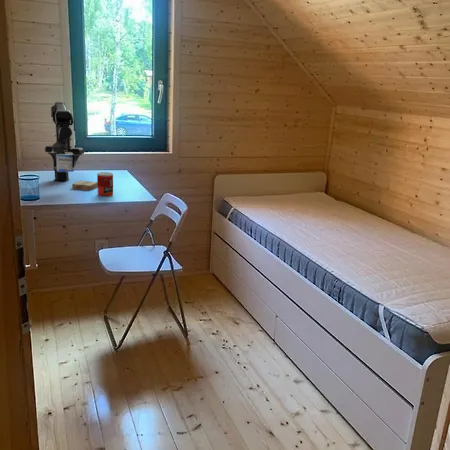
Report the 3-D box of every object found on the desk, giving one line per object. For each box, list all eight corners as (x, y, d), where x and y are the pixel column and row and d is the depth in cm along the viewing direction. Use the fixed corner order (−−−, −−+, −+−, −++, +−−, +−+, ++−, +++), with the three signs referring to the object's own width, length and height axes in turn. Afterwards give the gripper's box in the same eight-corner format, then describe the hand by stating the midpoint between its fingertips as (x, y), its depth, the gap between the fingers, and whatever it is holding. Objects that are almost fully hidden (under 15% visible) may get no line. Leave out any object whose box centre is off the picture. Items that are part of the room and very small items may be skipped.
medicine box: (58, 172, 242) (57, 155, 239) (56, 170, 245) (55, 153, 243) (74, 171, 245) (73, 154, 243) (72, 170, 249) (71, 153, 247)
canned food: (105, 197, 239) (105, 175, 236) (94, 194, 243) (93, 173, 240) (116, 194, 245) (116, 173, 242) (105, 192, 249) (105, 171, 246)
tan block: (72, 189, 253) (72, 184, 252) (80, 185, 262) (80, 180, 262) (90, 191, 252) (90, 185, 251) (98, 187, 261) (97, 182, 260)
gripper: (38, 136, 234) (39, 167, 238) (74, 139, 231) (75, 171, 236) (49, 134, 245) (51, 164, 249) (84, 137, 242) (85, 167, 246)
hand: (65, 166), depth 245 cm, fingers closed on medicine box, 9 cm apart
